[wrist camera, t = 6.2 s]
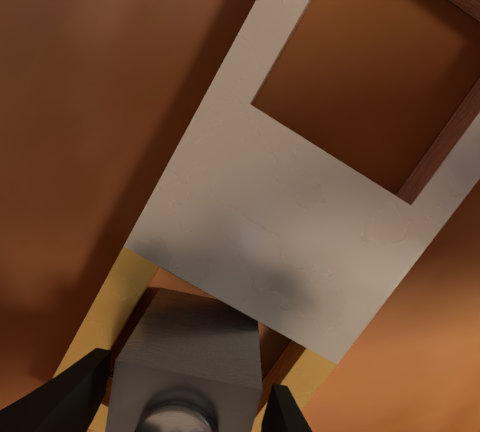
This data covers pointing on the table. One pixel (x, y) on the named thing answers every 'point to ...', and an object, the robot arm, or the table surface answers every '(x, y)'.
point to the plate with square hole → (281, 219)
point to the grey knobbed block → (187, 369)
